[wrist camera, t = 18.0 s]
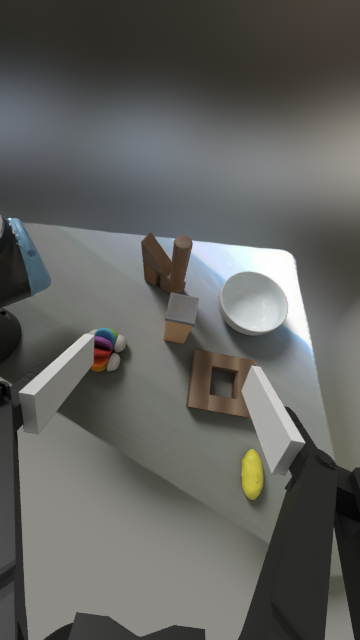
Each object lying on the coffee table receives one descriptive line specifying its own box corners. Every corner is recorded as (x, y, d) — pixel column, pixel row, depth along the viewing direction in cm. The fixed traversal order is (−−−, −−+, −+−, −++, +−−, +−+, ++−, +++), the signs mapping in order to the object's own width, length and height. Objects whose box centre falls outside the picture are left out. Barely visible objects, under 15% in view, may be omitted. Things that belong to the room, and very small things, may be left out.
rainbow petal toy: (78, 367, 43) (64, 361, 36) (96, 328, 47) (86, 316, 40) (116, 377, 43) (109, 372, 36) (130, 336, 47) (125, 326, 40)
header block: (186, 406, 42) (188, 406, 39) (193, 352, 47) (196, 349, 44) (248, 417, 43) (255, 418, 40) (249, 363, 48) (255, 360, 44)
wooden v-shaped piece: (151, 271, 55) (149, 215, 38) (184, 289, 54) (197, 240, 37) (144, 280, 53) (139, 226, 37) (177, 299, 52) (188, 252, 36)
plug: (162, 340, 47) (165, 317, 35) (167, 320, 50) (171, 292, 37) (184, 344, 48) (194, 323, 35) (187, 324, 50) (198, 298, 37)
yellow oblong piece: (235, 491, 38) (243, 501, 34) (240, 444, 41) (249, 448, 37) (256, 498, 38) (266, 508, 34) (260, 450, 41) (269, 455, 37)
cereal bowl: (241, 276, 58) (252, 260, 52) (284, 316, 54) (301, 305, 48) (200, 306, 52) (206, 292, 46) (244, 354, 49) (258, 346, 42)
